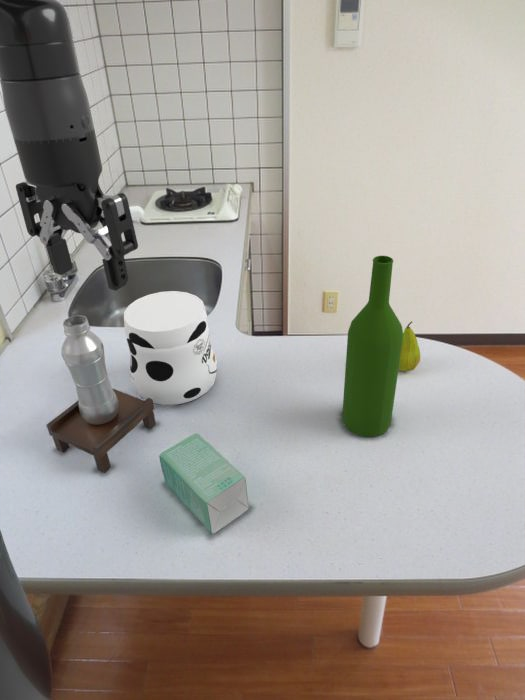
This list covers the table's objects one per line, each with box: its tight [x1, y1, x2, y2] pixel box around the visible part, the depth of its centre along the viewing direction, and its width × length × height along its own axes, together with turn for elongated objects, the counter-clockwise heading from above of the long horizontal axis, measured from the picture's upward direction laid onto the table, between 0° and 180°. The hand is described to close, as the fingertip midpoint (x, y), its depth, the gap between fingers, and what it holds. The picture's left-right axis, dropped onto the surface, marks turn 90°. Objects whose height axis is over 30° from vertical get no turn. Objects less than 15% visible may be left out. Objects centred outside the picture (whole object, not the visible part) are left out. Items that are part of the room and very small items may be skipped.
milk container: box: [123, 290, 218, 407], centre depth 103 cm, size 17×17×18 cm
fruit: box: [398, 320, 421, 372], centre depth 107 cm, size 6×6×12 cm
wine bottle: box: [341, 255, 404, 438], centre depth 88 cm, size 9×9×32 cm
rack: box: [45, 387, 157, 474], centre depth 94 cm, size 14×12×6 cm
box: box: [158, 433, 250, 535], centre depth 82 cm, size 7×14×8 cm, turn 41°
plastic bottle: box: [60, 314, 119, 425], centre depth 87 cm, size 6×7×20 cm
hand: (90, 279), depth 60 cm, fingers open, 8 cm apart
